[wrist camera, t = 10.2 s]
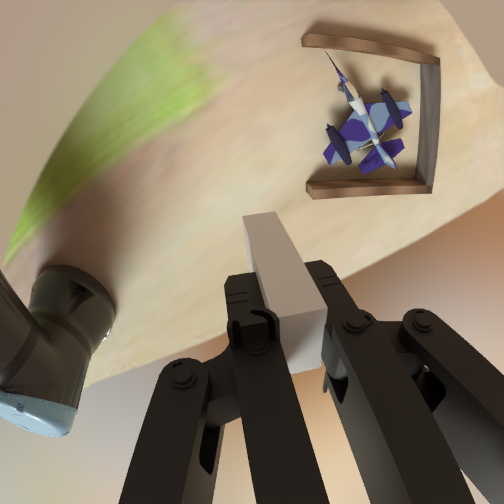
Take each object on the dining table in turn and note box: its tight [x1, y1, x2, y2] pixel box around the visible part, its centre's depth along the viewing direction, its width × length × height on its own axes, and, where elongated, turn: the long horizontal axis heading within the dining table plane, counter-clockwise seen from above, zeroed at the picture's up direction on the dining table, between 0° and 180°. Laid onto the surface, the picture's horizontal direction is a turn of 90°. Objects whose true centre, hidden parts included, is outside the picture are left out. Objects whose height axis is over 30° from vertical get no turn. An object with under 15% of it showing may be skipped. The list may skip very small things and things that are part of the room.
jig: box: [301, 33, 441, 200], centre depth 30 cm, size 18×19×3 cm
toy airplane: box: [323, 51, 412, 175], centre depth 30 cm, size 13×14×4 cm
